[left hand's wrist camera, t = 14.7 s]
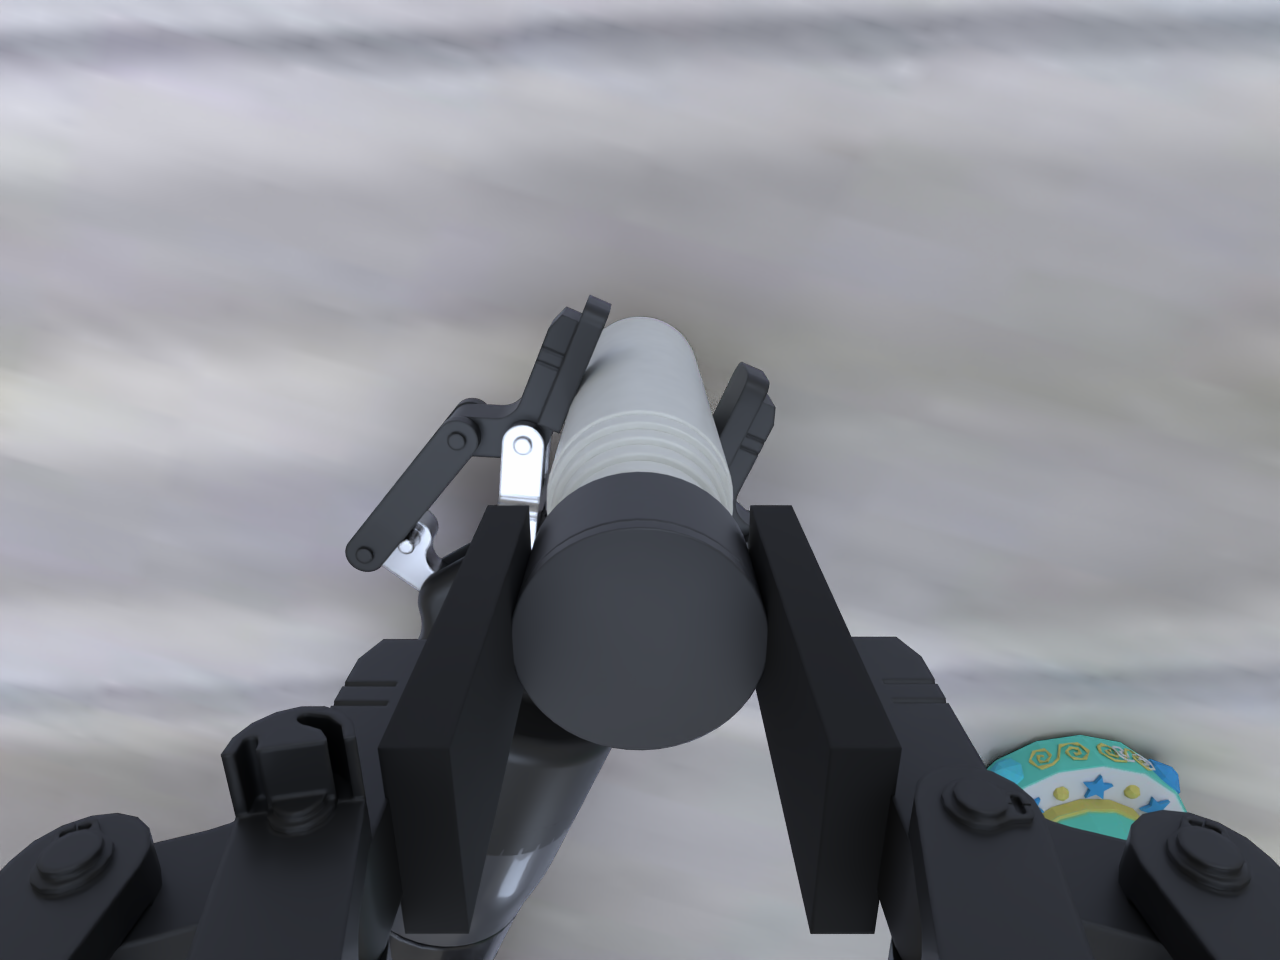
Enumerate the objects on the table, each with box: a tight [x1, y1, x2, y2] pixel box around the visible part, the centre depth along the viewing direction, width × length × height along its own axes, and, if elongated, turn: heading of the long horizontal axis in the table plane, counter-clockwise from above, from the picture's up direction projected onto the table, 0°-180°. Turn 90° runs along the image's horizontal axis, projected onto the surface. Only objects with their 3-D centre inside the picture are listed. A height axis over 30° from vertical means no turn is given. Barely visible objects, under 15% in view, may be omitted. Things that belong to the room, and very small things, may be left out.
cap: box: [512, 472, 768, 750], centre depth 14 cm, size 4×4×2 cm
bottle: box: [547, 317, 733, 516], centre depth 21 cm, size 4×4×18 cm
